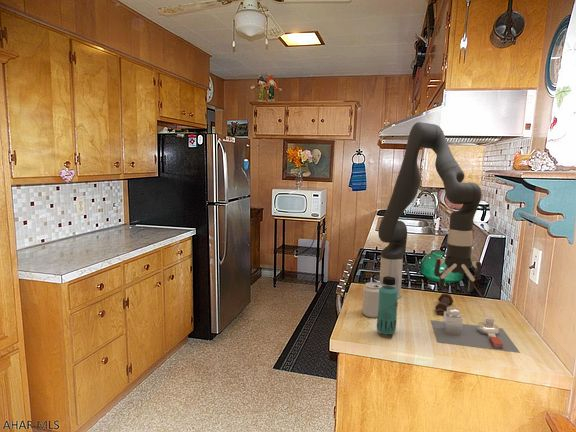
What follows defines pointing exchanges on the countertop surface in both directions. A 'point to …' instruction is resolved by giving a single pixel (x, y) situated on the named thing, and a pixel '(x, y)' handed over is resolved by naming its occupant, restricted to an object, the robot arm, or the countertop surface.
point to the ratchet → (490, 332)
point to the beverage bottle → (387, 307)
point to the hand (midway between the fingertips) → (455, 289)
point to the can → (371, 299)
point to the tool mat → (471, 337)
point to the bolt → (443, 303)
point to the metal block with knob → (452, 321)
